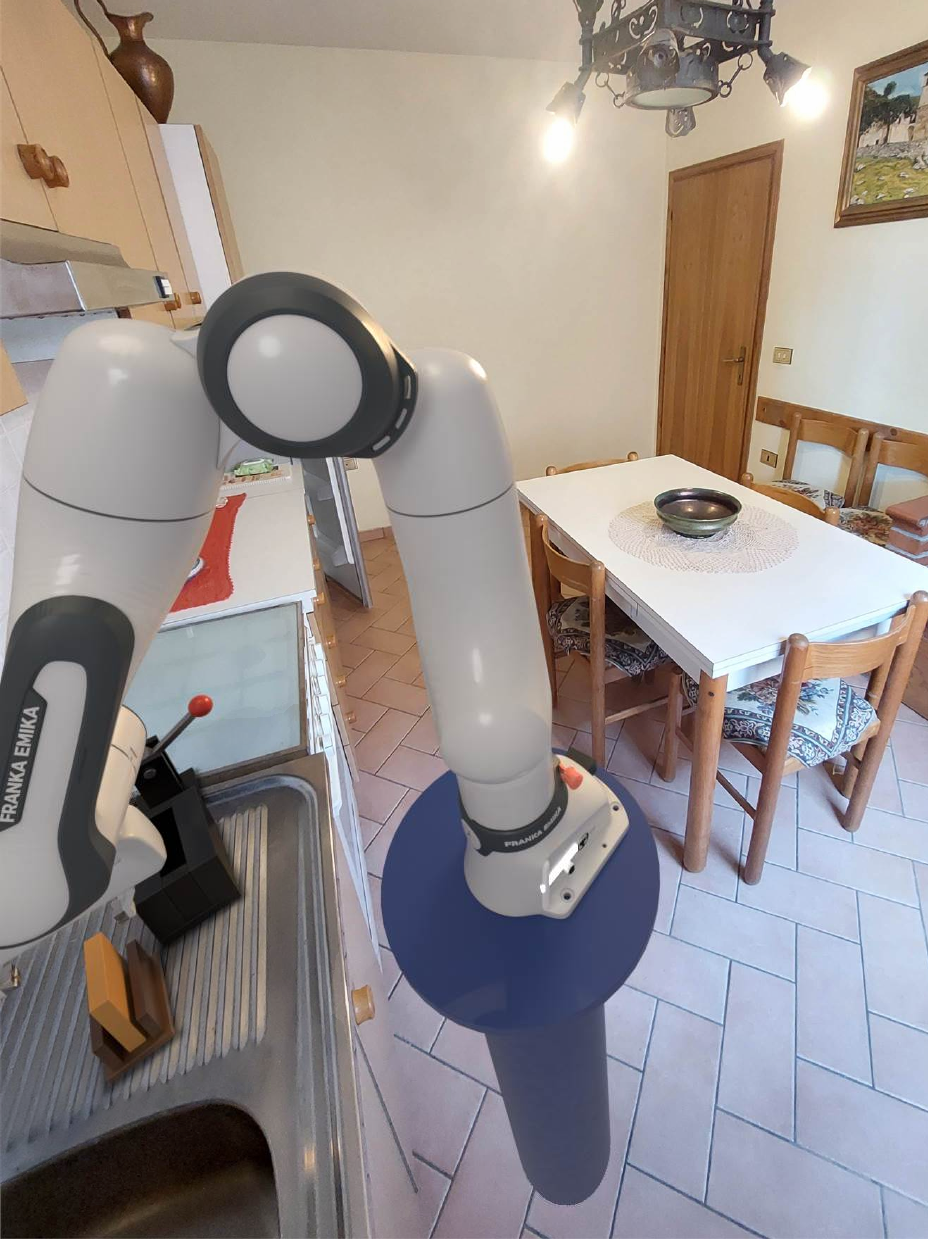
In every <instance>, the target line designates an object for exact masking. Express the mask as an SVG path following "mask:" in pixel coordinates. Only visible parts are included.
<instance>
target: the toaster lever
mask: <svg viewBox="0 0 928 1239" xmlns="http://www.w3.org/2000/svg"><path fill="white" fill-rule="evenodd" d="M213 707H214V702H213V700H212V698H211V697H210V696H208V695H206V694H199V695H196V696H194V697H192V698H191V700H190V701H189V702H188V705H187V712H186V714H184V716H183V717H182V718H180V720H179V721H178V722H177V723H175V725H174V726H173V727H172V728H171V729H170V730H169V731H168V732H167V733H166V734H165V736H163V737H162V738H161V739H160V742H159V743H158V744H157V745H156V746H155V747H154V748H153V749H152V748H149V747H145V749H144V753H143V756H142V760H143V759H145V758H147V757H149V756H151V755H153V754H155V753H157V752H159V751H161V752H163V751H164V750H165V751H166V750H167V748H168V747H169V746H170V745H172V743H174V742H175V740H176V739H177V738H178V737H179V736H180V735H181V734H182V733H183V732H184V731H185V729H186V728H188V727H189V726H190V724H191V723H192V722H193V721H195V720H196V718H203V717H206V716H207V715H209V714H210V713H211V711H212V710H213Z"/></svg>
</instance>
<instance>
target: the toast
mask: <svg viewBox="0 0 928 1239" xmlns="http://www.w3.org/2000/svg"><path fill="white" fill-rule="evenodd" d="M83 953H84V966H85V971H86V974H85V980H86V979H87V986H86V992H87V991H88V998H87V1004H88V1003H89V1010H88V1014H89V1013H90V1014H91V1015H92V1016H93V1017H94V1018H95V1019H96V1020H97V1021H98V1022H99V1023H100V1024H101V1025H102V1026H103V1027H104V1028H105V1029H106V1030H107V1031H108V1032H109V1033H110V1034H111V1035H113V1036H114V1037H115V1038H116V1039H117V1040H118V1041H119V1042H120V1043H121V1044H122V1045H123V1046H124V1047H125V1048H126V1049H127V1050H128V1051H129V1052H131V1051H133V1050H134V1049H135V1048H137V1047H138V1046H139V1045H141V1044H142V1043H143V1042H145V1041H146V1040H147V1037H146V1031H145V1029H144V1028H143V1027H142V1026H141V1025H140V1024H139V1023H138V1021H137V1020H136V1015H135V1008H134V1001H133V995H132V988H131V981H130V974H129V967H128V960H127V959H125V958H124V957H123V955H122V954H121V953H120V951H118V950H117V949H116V948H115V946H114V945H113V944H112V943H111V941H110V940H109V939H108V938H107V937H106V936H105V935H104V934H103V933H102V931H100V932H97V934H95V935H93V936H91V937H90V938H89V939H87V940H86V941H84V942H83Z"/></svg>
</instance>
